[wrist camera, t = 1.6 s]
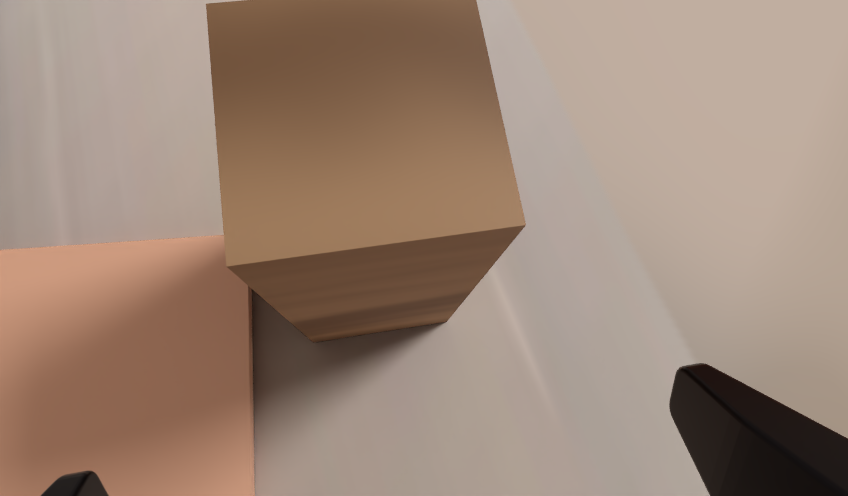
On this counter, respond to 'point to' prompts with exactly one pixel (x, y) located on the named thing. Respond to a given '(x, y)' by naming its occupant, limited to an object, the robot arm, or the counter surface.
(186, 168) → the counter surface
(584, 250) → the counter surface
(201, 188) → the counter surface
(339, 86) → the walnut block
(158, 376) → the terracotta tile
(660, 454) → the counter surface
